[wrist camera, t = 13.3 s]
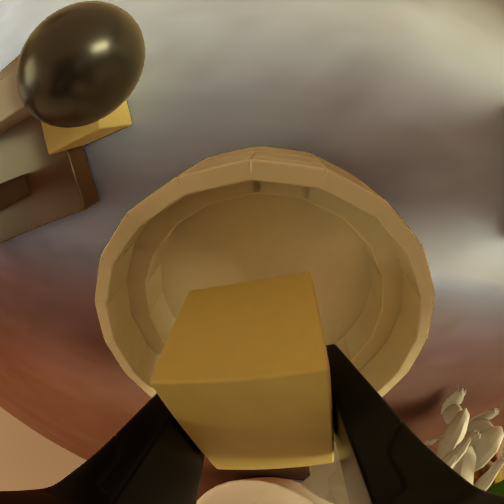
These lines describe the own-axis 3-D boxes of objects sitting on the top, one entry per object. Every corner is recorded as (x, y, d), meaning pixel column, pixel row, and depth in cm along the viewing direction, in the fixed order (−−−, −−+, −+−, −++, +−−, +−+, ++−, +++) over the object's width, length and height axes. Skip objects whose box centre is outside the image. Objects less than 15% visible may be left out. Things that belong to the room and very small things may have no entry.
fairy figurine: (467, 461, 17) (426, 583, 7) (331, 393, 21) (242, 540, 11) (545, 419, 11) (522, 572, 1) (406, 326, 15) (310, 569, 5)
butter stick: (117, 57, 9) (84, 48, 6) (133, 124, 10) (100, 128, 8) (70, 82, 9) (33, 81, 7) (84, 145, 10) (48, 155, 8)
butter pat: (310, 270, 8) (330, 368, 5) (324, 377, 10) (334, 463, 7) (187, 289, 8) (147, 382, 5) (229, 388, 10) (216, 470, 7)
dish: (382, 125, 9) (436, 133, 6) (388, 351, 14) (409, 410, 10) (106, 186, 11) (45, 220, 7) (188, 377, 15) (171, 435, 12)
